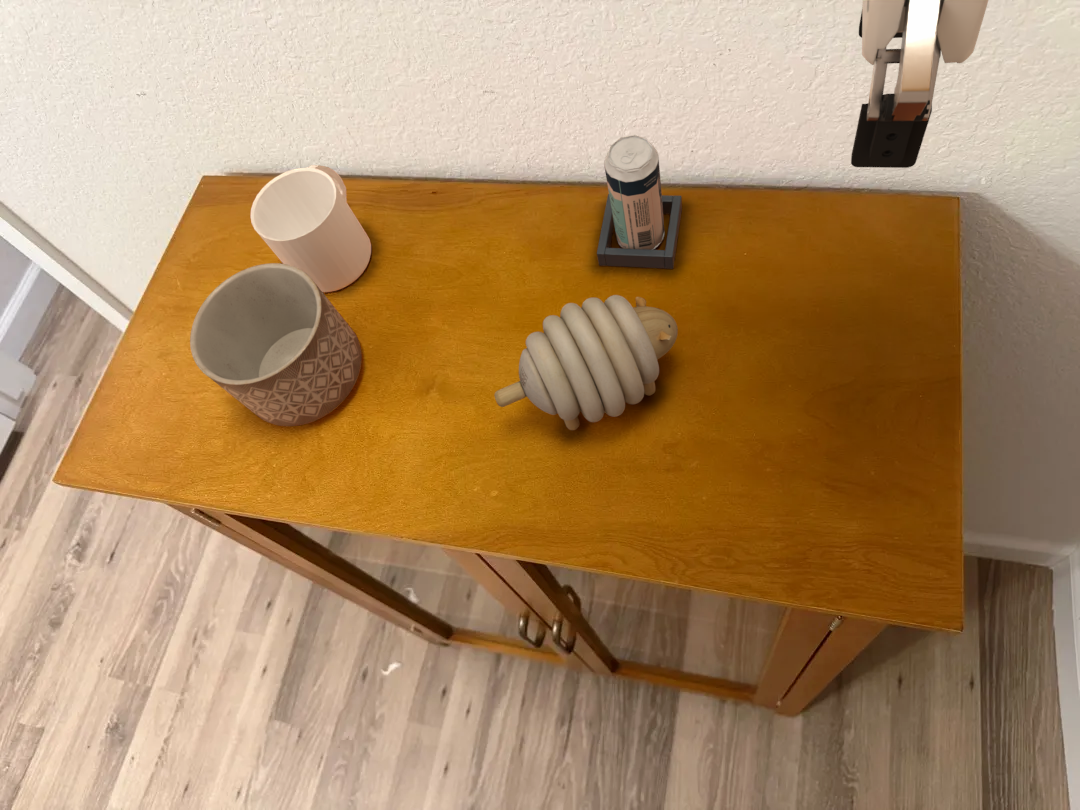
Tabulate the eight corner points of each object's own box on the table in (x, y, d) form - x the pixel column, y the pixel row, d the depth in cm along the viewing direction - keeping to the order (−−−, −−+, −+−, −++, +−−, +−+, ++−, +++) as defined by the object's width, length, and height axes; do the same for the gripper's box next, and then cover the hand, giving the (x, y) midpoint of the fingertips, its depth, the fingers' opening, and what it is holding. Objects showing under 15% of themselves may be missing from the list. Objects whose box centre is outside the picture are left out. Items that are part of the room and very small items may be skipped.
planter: (285, 309, 83) (233, 251, 73) (386, 335, 79) (344, 277, 69) (228, 413, 78) (164, 365, 69) (332, 445, 74) (279, 399, 65)
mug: (349, 302, 81) (308, 249, 73) (280, 284, 84) (234, 230, 76) (398, 213, 85) (365, 153, 77) (331, 198, 88) (292, 139, 80)
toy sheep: (706, 392, 69) (705, 329, 59) (540, 482, 68) (512, 434, 59) (647, 308, 74) (637, 237, 64) (492, 392, 73) (458, 333, 64)
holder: (682, 208, 78) (681, 195, 76) (673, 269, 75) (672, 257, 74) (610, 206, 80) (608, 193, 78) (598, 265, 77) (596, 253, 75)
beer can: (673, 227, 77) (667, 140, 67) (650, 263, 76) (640, 180, 66) (631, 211, 79) (619, 125, 69) (608, 246, 78) (592, 163, 67)
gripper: (1106, -125, 24) (959, 222, 39) (1070, -400, 31) (956, -13, 46) (850, -105, 26) (804, 217, 41) (868, -367, 33) (823, -7, 48)
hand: (884, 96), depth 44 cm, fingers open, 9 cm apart
